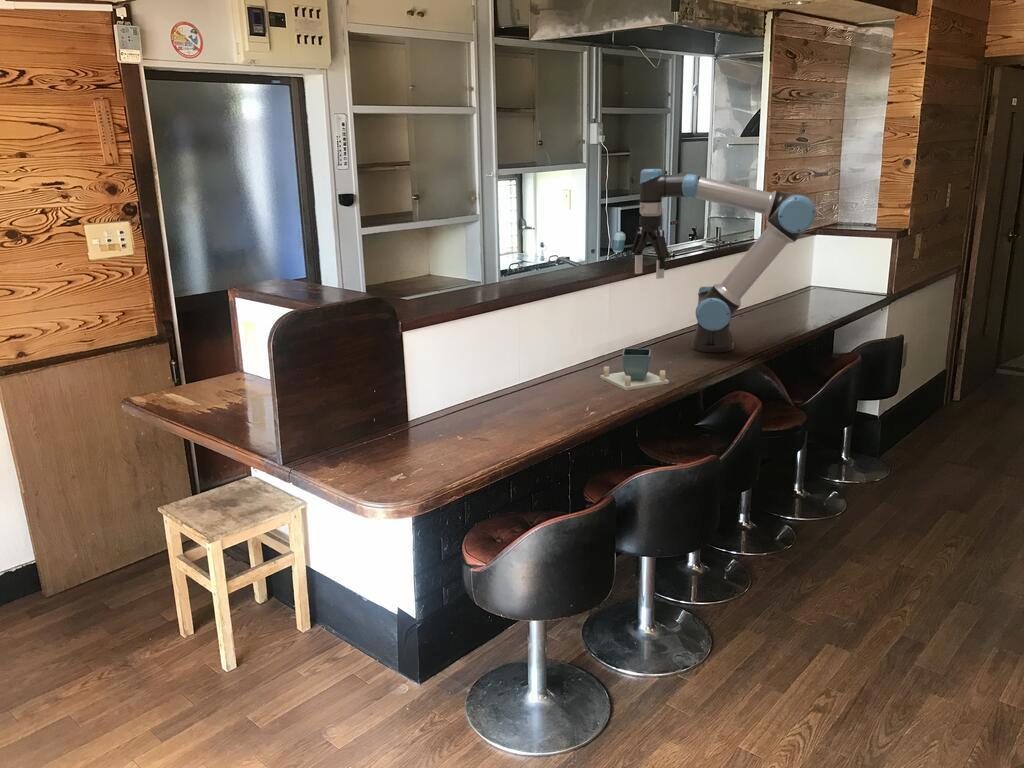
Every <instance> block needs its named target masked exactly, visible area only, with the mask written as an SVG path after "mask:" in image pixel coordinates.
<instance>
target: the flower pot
mask: <svg viewBox="0 0 1024 768" xmlns="http://www.w3.org/2000/svg"><path fill="white" fill-rule="evenodd" d="M651 352H652V349H651V348H628V347H626V348H625V347H624V348H623V351H622V355H621V356H622V367H623V372H624V373H625V375H626V376H631V380H644V379H645V377H646V375H647V373H648V372H649V368H650V361H651V360H650V359H651Z"/></svg>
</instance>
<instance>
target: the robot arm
mask: <svg viewBox="0 0 1024 768" xmlns="http://www.w3.org/2000/svg"><path fill="white" fill-rule="evenodd" d="M639 177H640V179H639V214H640V216H639V220H638V222H639V226H640V227H636V230H635V236H634V239H633V242H632V246H631V249H630V252H631V254H632V253H633V255H634V274H637V275H638V274H643V263H644V262H643V258H644V257H643V251H644V249H645V247H646V246H647V243H650V244H651V245H652V247H653V250H654V251H655V254H656V257H657V258H656V266H655V267H656V270H655V271H656V272H655V273H656V275H655V278H656V279H657V280H659V279H665V269H666V268H665V265H666V260H667V259H668V258H670V254H669V250H668V245H667V242H666V238H665V237H666V236H665V230H663V229H662V230H661V229H659V227H661V226H662V215H661V214H662V209H663V208H662V207H663V205H662V204H663V203H662V201H663V200H662V199H663V198H686V199H687V198H694V199H699V200H702V201H707V202H712V203H715V204H719V205H724V206H729V207H732V208H736V209H740V210H745V211H748V212H753V213H756V214H757V213H758V214H762V215H765V217H766V218H767V220H766V226H767V227H766V229H764V231H763V232H762V233H761V235H760V236H759V237H758V239H757V240H756V241H755V242H754V243H753V244H752V245H751V247H749V249H748V250H747V251H746V253H744V254H743V256H742V258H741V259H740V260H739V261H738V262H737V264H736V265H735V266H734V267H733V268H732V270H731V271H730V272H729V273H728V274H727V276H726V277H725V278H724V279H723V281H721V283H717V284H715V283H714V285H713V286H710V285H709V286H708V285H707V286H701V287H699V288H698V293H697V295H698V299H697V301H698V302H697V306H696V308H695V318H696V320H697V327H696V329H695V333H694V336H693V339H692V340H691V349H692V350H694V351H698V352H703V353H714V354H715V353H726V352H727V353H728V352H731V351H733V350H734V348H735V347H734V345H735V343H734V339H733V336H732V331H731V326H730V324H731V317H732V316H733V315H735V313H736V311H737V310H738V309H739V308H740V307H741V306H742V305H741V299H742V298H743V297H744V296H745V294H746V293H747V292H748V291H749V289H750V288H751V287H753V285H754V283H755V282H756V281H758V279H759V278H760V277H761V276H762V274H763V273H764V272H765V271H766V269H767V268H768V267H769V266H770V265H771V264H772V262H773V261H774V260H775V259H776V257H778V255H779V254H780V253H781V252H782V251H783V249H785V247H786V246H787V245H788V244H791V243H795V242H796V241H797V240H798V239H799V238H800V237H801V236H802V234H803V233H804V232H805V231H807V230H808V229H810V228H811V226H812V225H813V224H814V222H815V220H816V216H817V209H816V205H815V204H814V202H813V200H811V199H810V197H808V196H806V195H804V194H802V193H798V192H797V193H795V192H785V191H778V190H773V191H772V192H770V191H766V190H762V189H761V190H760V189H758V188H757V189H756V188H751V187H748V186H744V185H738V184H734V183H729V182H726V181H721V180H717V179H713V178H707V177H704V176H698V175H697V174H691V173H689V172H685V171H683V172H679V173H677V174H664V173H663V170H662V169H661V168H644V169H642V170H641V171H640V176H639Z"/></svg>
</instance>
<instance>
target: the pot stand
mask: <svg viewBox="0 0 1024 768" xmlns="http://www.w3.org/2000/svg"><path fill="white" fill-rule="evenodd" d="M599 379H601V380H603V381H605V382H607V383H609V384H611V385H613V386H616V387H617V388H620V389H621V390H625V391H631V390H638V389H644V388H650V387H656V386H657V387H658V386H663V385H667V384H669V383H670V380H668V379H667V378H666V370H665V369H663V370H662V369H660V370H659V375H656V374H654V373H652V372H649V371H648V373H647V375H646V377H645V379H644V380H631V376H626V375H625V373H624V371H621V372H614V373H610V366H608V365H607V366H605V365H604V366H603V374H601V375H599Z"/></svg>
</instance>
